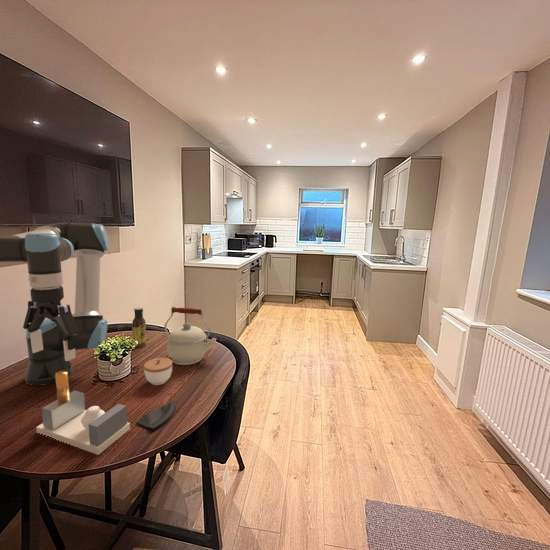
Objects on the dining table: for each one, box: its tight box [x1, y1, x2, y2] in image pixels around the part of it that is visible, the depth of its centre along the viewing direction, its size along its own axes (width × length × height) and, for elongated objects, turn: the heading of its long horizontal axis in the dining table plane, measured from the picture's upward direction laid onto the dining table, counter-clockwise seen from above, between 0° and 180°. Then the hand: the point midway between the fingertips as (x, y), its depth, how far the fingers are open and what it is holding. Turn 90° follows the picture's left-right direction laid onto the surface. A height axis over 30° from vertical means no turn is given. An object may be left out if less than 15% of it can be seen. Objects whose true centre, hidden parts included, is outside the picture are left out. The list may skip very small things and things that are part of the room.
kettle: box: [164, 306, 217, 366], centre depth 135 cm, size 25×18×25 cm
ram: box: [41, 370, 86, 430], centre depth 88 cm, size 4×10×15 cm, turn 162°
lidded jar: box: [143, 357, 174, 386], centre depth 115 cm, size 11×11×9 cm
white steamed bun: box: [81, 405, 106, 431], centre depth 85 cm, size 6×6×7 cm
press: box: [35, 403, 131, 456], centre depth 86 cm, size 24×11×8 cm, turn 72°
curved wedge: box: [136, 400, 177, 432], centre depth 95 cm, size 8×14×2 cm, turn 153°
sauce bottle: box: [131, 307, 147, 348], centre depth 148 cm, size 6×6×20 cm
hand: (53, 355), depth 87 cm, fingers open, 13 cm apart
